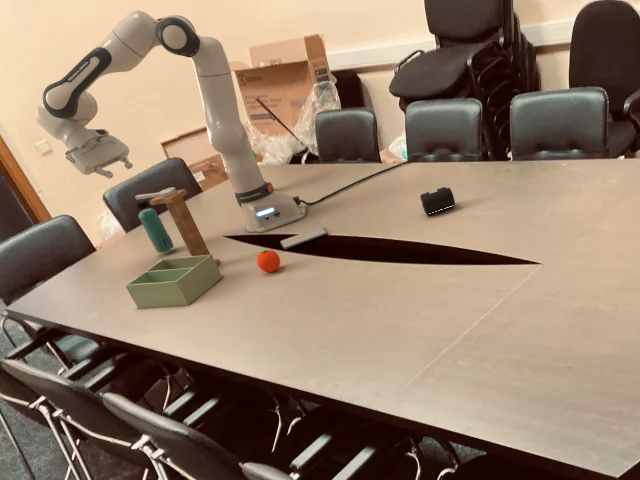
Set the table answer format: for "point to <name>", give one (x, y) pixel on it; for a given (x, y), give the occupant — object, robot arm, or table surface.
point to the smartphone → (303, 237)
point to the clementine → (268, 260)
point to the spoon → (159, 194)
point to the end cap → (437, 200)
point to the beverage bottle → (154, 228)
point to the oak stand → (184, 223)
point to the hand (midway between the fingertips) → (121, 171)
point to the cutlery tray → (174, 281)
